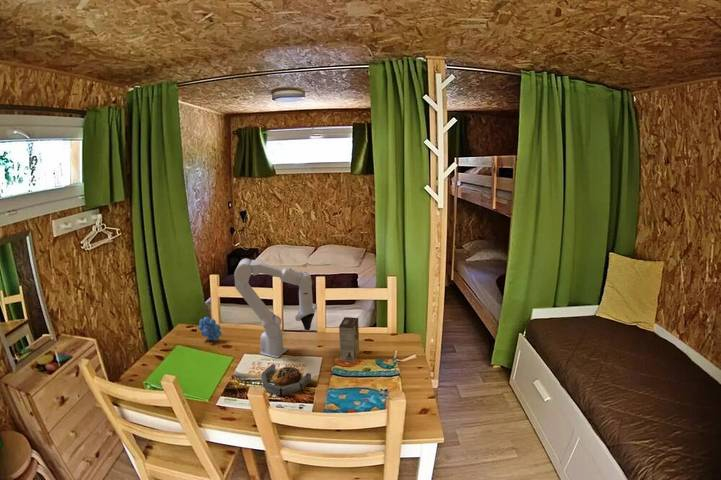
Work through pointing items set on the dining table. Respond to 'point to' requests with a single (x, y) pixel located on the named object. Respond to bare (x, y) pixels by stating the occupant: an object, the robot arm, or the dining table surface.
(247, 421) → the dining table surface
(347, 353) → the coffee box
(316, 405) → the dining table surface
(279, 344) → the robot arm
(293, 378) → the bread roll
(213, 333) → the grapes
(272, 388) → the collar
